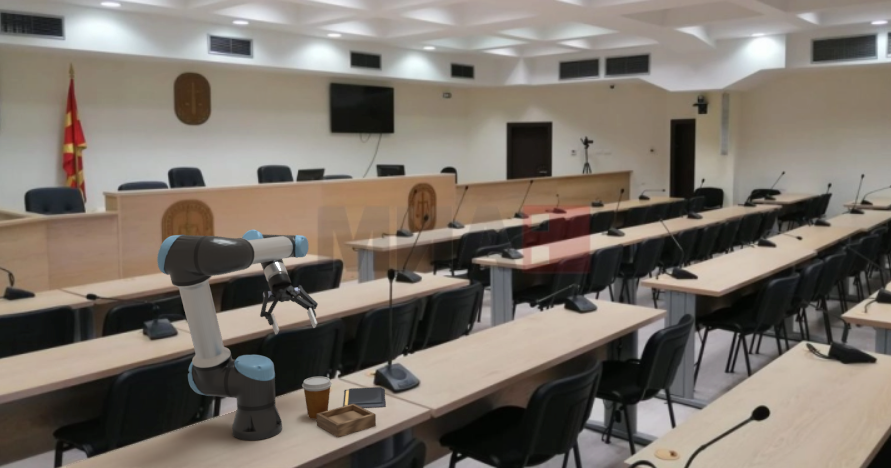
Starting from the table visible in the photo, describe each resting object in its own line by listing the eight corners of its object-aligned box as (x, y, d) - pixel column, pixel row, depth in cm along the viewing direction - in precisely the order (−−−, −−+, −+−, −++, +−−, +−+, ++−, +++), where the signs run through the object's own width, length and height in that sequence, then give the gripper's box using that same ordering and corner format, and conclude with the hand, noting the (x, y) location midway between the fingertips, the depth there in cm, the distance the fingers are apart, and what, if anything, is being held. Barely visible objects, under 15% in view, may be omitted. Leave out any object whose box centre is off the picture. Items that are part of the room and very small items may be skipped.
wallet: (385, 403, 246) (340, 405, 244) (385, 409, 246) (340, 410, 245) (386, 384, 265) (344, 386, 264) (386, 389, 266) (344, 391, 265)
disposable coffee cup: (326, 421, 233) (325, 386, 232) (298, 420, 235) (297, 384, 234) (336, 411, 242) (335, 376, 241) (309, 409, 244) (308, 375, 243)
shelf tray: (337, 437, 221) (337, 425, 220) (316, 425, 230) (316, 413, 230) (375, 425, 230) (375, 414, 229) (353, 414, 239) (353, 403, 239)
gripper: (308, 280, 263) (327, 329, 252) (240, 289, 249) (258, 340, 238) (313, 268, 258) (333, 317, 247) (245, 276, 244) (263, 328, 233)
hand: (296, 329), depth 243 cm, fingers open, 13 cm apart
